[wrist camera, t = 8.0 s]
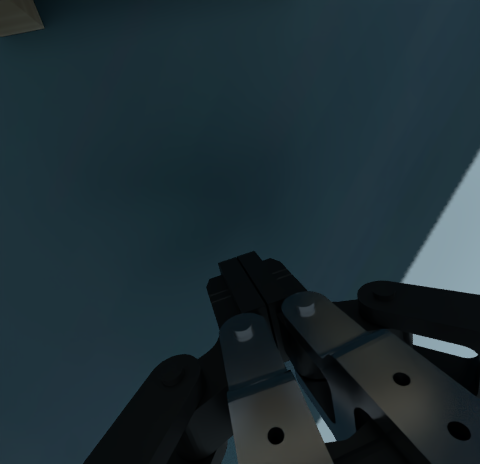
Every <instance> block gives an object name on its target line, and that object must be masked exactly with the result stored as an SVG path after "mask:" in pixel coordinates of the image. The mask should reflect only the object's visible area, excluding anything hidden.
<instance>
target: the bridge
mask: <svg viewBox="0 0 480 464" xmlns="http://www.w3.org/2000/svg"><path fill="white" fill-rule="evenodd" d="M39 29H44V26H43V23H42V21H41V18H40V16H39V14H38V11H37V9H36V6H35V4H34V1H33V0H0V36H1V37H3V36H8V35H13V34H19V33H24V32H29V31H34V30H39Z"/></svg>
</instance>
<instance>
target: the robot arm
mask: <svg viewBox="0 0 480 464" xmlns="http://www.w3.org/2000/svg"><path fill="white" fill-rule="evenodd" d="M218 265H219V269H220V272H221V275H220V276H217V277H214V278H211V279H209V282H208V284H207V287H206V288H207V291H208V295H209V298H210V301H211V304H212V307H213V310H214V314H215V317H216V320H217V323H218V326H219V330H220V331H219V338H218V341H217V342H216V344H215V345H214V347H213V348H212V349H211V350H210V351H208V352H207V353H206V354H205V355H203V356H202V357H200V358H199V359H196V358H195V357H193V356H191V355H186V354H182V355H176V356H173V357H170V358H168V359H166V360H165V361H163V362H162V363H160V364H159V365H158V366H157V367H156V368H155V369H154V370H153V371H152V372H151V374H150V375H149V376H148V378H147V379H146V380H145V382H144V383H143V384H142V386H141V387H140V388H139V390H138V391H137V392H136V394H135V395H134V396H133V398H132V399H131V400H130V402H129V403H128V404H127V406H126V407H125V408H124V410H123V411H122V412H121V414H120V415H119V416H118V418H117V419H116V420H115V422H114V423H113V424H112V426H111V427H110V428H109V430H108V431H107V432H106V434H105V435H104V436H103V438H102V439H101V440H100V442H99V443H98V444H97V446H96V447H95V448H94V450H93V451H92V452H91V454H90V455H89V456H88V458H87V459H86V460H85V462H84V463H83V464H221V462H222V460H223V457H224V455H225V452H226V449H227V440H228V439H229V438H230V437H231V436H232V435H234V441H235V447H236V452H237V458H238V464H480V295H477V294H469V293H463V292H457V291H450V290H444V289H437V288H430V287H424V286H417V285H410V284H404V283H397V282H391V281H374V282H370V283H367V284H365V285H363V286H362V287H361V288H360V289H359V290H358V294H357V296H358V299H356V300H349V301H342V302H331V301H330V300H329V299H327V298H326V297H325V296H324V295H322V294H320V293H317V292H311V291H307V290H306V289H305V288H304V287H303V285H302V284H301V283H300V282H299V281H298V280H297V279H296V278H295V277H294V276H293V275H291V273H290V272H289V271H288V269H286V267H285V266H284V265H283V264H282V263H281V262H280V261H277V260H274V259H272V258H269V259H266V260H263V261H262V260H261V259H260V257H259V256H258V255H257V254H256V252H255V251H252V252H249V253H246V254H243V255H240V256H237V258H236V257H235V258H232V259H229V260H226V261H223V262H220V263H218ZM413 334H416V335H421V336H425V337H429V338H433V339H437V340H441V341H446V342H450V343H454V344H458V345H462V346H466V347H468V348H471V349H472V350H474V351H475V352H476V353H477V354H478V356H476V357H474V358H462V357H459V356H455V355H451V354H447V353H443V352H439V351H435V350H432V349H428V348H424V347H420V346H416V345H413ZM289 360H290V361H291V362H292V364H293V366H294V369H295V374H296V378H297V381H298V383H299V384H300V386H301V387H302V389H303V390H304V392H305V393H306V395H307V396H308V397H309V399H310V400H311V402H312V403H313V405H314V406H315V408H316V409H317V411H318V412H319V414H320V415H321V417H322V418H323V420H324V421H325V423H326V424H327V426H328V427H329V429H330V430H331V432H332V433H333V435H334V437H335V439H336V440H337V441H335V442H329V443H324V441H323V439H322V437H321V435H320V433H319V430H318V428H317V426H316V423H315V421H314V419H313V417H312V415H311V412H310V410H309V408H308V406H307V404H306V401H305V399H304V397H303V395H302V393H301V390H300V388H299V386H298V384H297V381H296V379H295V377H294V375H293V373H292V372H291V370H288V371H287V369H286V366H285V364H284V362H287V361H289Z"/></svg>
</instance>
